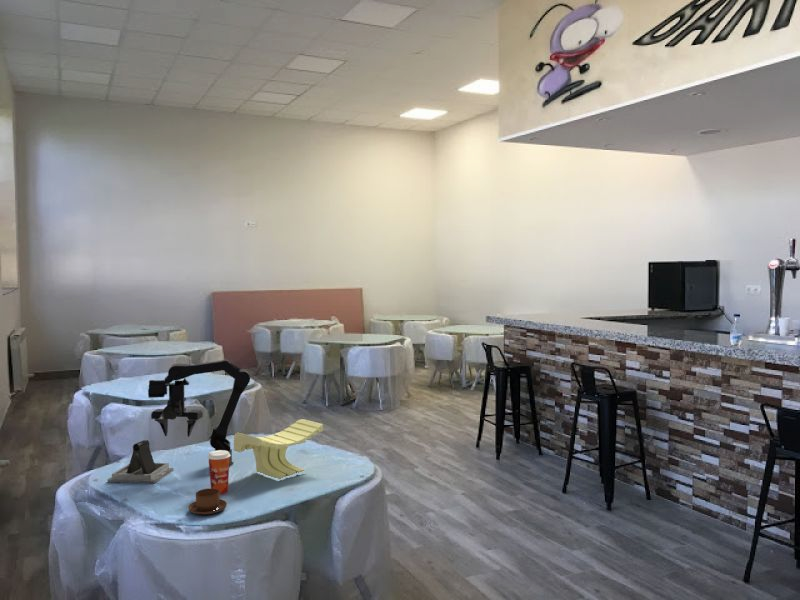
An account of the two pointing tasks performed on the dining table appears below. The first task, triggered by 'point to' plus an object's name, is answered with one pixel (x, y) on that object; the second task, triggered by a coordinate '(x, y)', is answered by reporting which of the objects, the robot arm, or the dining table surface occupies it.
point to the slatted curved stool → (277, 447)
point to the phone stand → (141, 459)
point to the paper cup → (219, 470)
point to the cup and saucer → (207, 502)
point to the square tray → (141, 475)
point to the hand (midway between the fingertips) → (177, 436)
